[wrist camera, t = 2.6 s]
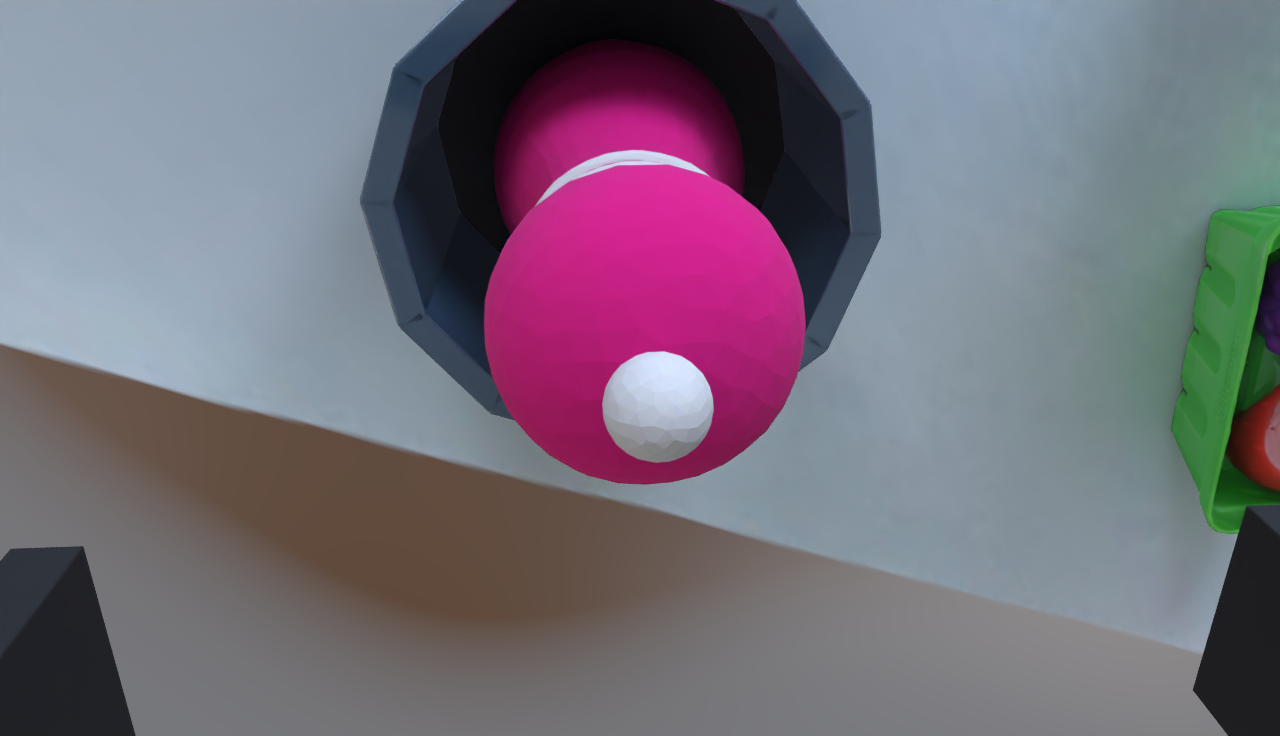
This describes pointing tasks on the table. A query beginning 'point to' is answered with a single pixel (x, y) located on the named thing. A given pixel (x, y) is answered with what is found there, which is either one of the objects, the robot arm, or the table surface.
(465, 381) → the crock
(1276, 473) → the fruit basket
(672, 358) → the pepper mill
